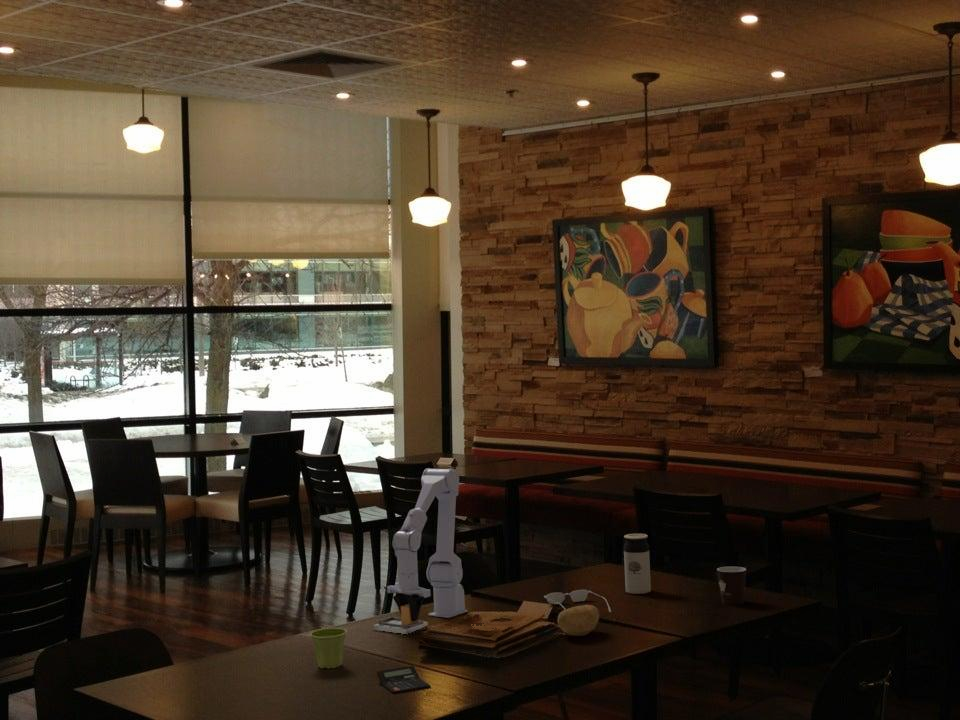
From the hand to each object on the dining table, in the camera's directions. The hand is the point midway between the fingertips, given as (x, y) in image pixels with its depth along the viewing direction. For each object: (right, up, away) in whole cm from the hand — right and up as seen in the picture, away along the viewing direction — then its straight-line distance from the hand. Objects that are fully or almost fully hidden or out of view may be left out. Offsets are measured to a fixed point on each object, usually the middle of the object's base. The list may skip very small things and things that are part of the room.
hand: (409, 619), depth 337 cm
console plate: (-3, -3, +2) cm, 5 cm away
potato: (+48, -1, -14) cm, 50 cm away
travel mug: (+71, 0, +38) cm, 80 cm away
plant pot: (-18, -4, -35) cm, 40 cm away
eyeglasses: (+50, -1, +18) cm, 53 cm away
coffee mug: (+96, +1, +19) cm, 98 cm away
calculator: (+2, -4, -54) cm, 55 cm away
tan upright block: (0, -1, 0) cm, 1 cm away
